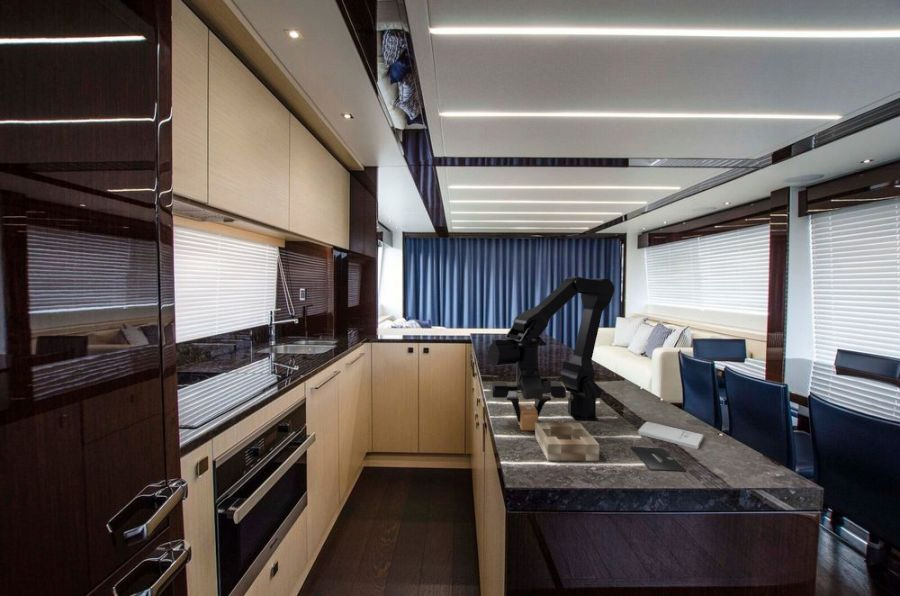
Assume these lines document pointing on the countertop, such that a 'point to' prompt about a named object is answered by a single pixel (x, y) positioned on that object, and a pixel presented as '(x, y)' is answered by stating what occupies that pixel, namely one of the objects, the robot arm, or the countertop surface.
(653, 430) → the external hard drive
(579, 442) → the beige notched square frame
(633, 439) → the countertop surface
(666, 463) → the solid state drive
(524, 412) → the block
